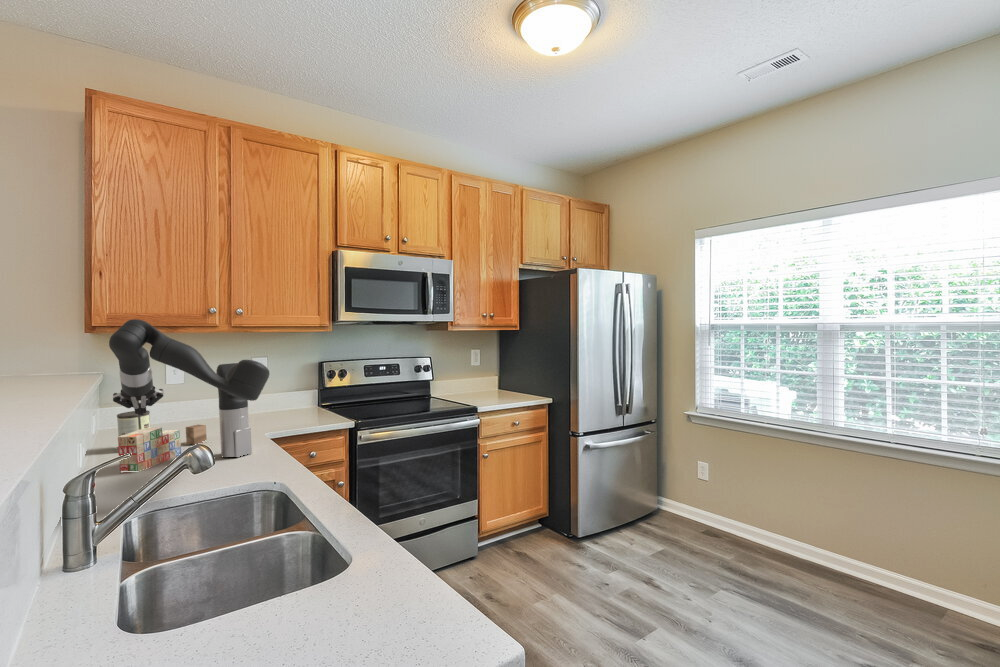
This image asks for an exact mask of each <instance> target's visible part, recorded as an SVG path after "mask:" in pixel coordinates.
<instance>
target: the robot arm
mask: <svg viewBox="0 0 1000 667" xmlns="http://www.w3.org/2000/svg"><path fill="white" fill-rule="evenodd" d="M146 343H147V344H149V345H151V347H150V350H149V351H148V350H147V349H146V348H145V347H144V345H145V344H146ZM108 347H109V349H110V350H111V352H112V353H113V354H114V356H115V357H116V358H117V360H118V365H119V378H120V386H121V389H120V392H114V393H113V394H112V402H114V403H116V404H118V405H120V406H123V408H127V409H131V408H133V409H134V411H135V414H138V415H144V413H146V410H147V407H152V406H154V405H155V404H156V403H157V402H158V401H159V400H161V399H162V398H163V397H164V389H163V388H159V389H156V387H155V385H154V382H153V370H152V367H151V362H150V359H152V360H154V361H156V362H159V363H161V364H164V365H167V366H169V367H172V368H175V369H177V370H180V371H182V372H184V373H187V374H189V375H191V376H193V377H195V378H197V379H198V380H201V381H203V382H204V383H206V384H208V385H211V386H212V387H214V388H217V392H218V393H217V394H218V414H219V418H218V419H219V435H220V439H219V440H220V450H221V451H220V453H221V454H220V455H221V456H223V457H238V458H241V457H244V456H243V455H245V456H247V454H248V455H251V454H252V453H253V450H252V432H251V431H252V430H251V427H250V424H249V423H250V420H249V419H250V417H249V403H248V402H249V401H251V402H252V401H257V399H258V398H259V397H260V395H261V393H262V391H263V389H264V387H265V386H266V383H267V381H268V380H269V379H270V378H269V377H270V370H269V368H268V367H267V366H266V365H265V364H263V363H261V362H259V361H256V360H253V359H241V360H240V361H239V362H237V363H236V362H235V363H234V362H232V363H222V364H221V363H219V365H217V367H216V371H214V370H213V368H212V367H211V366H210V365H209V364H208V362H207V361H206V359H205V358H204V356H203V355H201V353H200V352H199V351H198V350H197V349H196V348H194V347H192V346H191V345H189V344H186V343H184V342H181V341H179V340H177V339H174V338H170V337H169V336H167V335H166V334H164V333H163V332H161V331H160V330H159V329H157V327H155V326H153V325H151V323H149V322H148V321H145V320H143V319H138V318H137V319H135V318H134V319H128V320H127V321H126V322H124V323H123V324H122V325H121V326H120V327H119V328H118V329H117V330H116V331H115V332H113V334H111V336H110V337H109V342H108ZM240 456H241V457H240ZM223 457H222V458H223Z"/></svg>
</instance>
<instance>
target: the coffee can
mask: <svg viewBox="0 0 1000 667" xmlns="http://www.w3.org/2000/svg"><path fill="white" fill-rule="evenodd" d="M150 412H151V411H150V410H147V409H146V413H144V415H138V414H135V410H133V411H125V412H121V413H118V414H116V418H117V432H118V433H117V434H118V436H117V437H119V436H122V435H126V434H129V433H132V432H134V431H137V430H141V429H144V428H151V420H150Z"/></svg>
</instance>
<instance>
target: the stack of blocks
mask: <svg viewBox="0 0 1000 667" xmlns="http://www.w3.org/2000/svg"><path fill="white" fill-rule="evenodd" d="M180 434H181V432H180V429H171V430H170V429H169V430H167V429H166V430H164V429H163V427H150V428H144V429H141V430H137V431H134V432H132V433H129V434H126V435H122V436H117V444H118V447H117V450H118V451H117V453H118V457H119V456H121V455H124V454H127V453H132V455H131V457H129V458H127V459H123V460H121V461H118V462H119V472H120V471H140V470H143V469H146V468H148V469H150V468H149V467H151V466H153V467H155V466H154V465H156V466H158V465H160V464H161V462H162V463H164V462H167V461H168V460H171V459H173V458H177V457H178V456H180V455H179V454H181V455H182V443H181V435H180ZM159 463H160V464H159ZM157 464H158V465H157ZM151 468H152V467H151ZM146 470H147V469H146ZM143 471H144V470H143Z"/></svg>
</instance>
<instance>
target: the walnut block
mask: <svg viewBox="0 0 1000 667" xmlns="http://www.w3.org/2000/svg"><path fill="white" fill-rule="evenodd" d="M185 438H186V439H185V440H186V441H185V442H186V445H187V444H192V445H191V446H196V445H195V444H198V443H202V444H204V443H203V442H202V441H205V440H207V439H208V438H207V425H206V424H198V423H197V424H195V425H190V426H185ZM198 445H199V444H198Z"/></svg>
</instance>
